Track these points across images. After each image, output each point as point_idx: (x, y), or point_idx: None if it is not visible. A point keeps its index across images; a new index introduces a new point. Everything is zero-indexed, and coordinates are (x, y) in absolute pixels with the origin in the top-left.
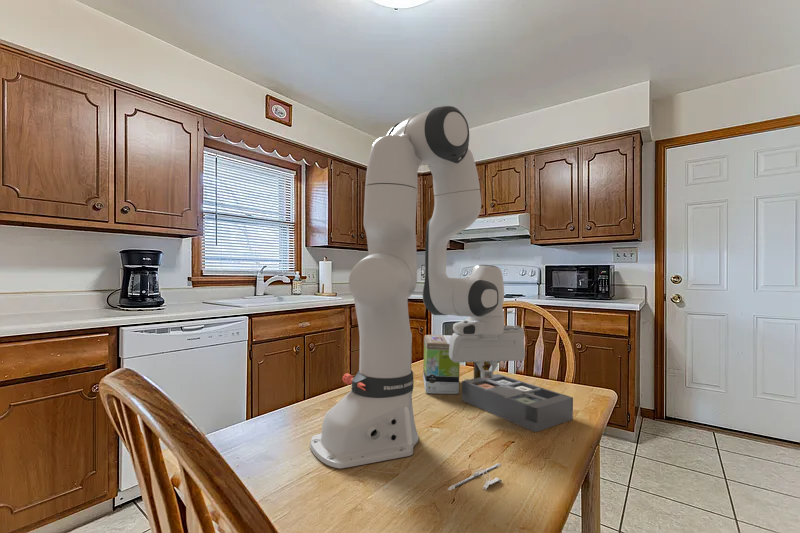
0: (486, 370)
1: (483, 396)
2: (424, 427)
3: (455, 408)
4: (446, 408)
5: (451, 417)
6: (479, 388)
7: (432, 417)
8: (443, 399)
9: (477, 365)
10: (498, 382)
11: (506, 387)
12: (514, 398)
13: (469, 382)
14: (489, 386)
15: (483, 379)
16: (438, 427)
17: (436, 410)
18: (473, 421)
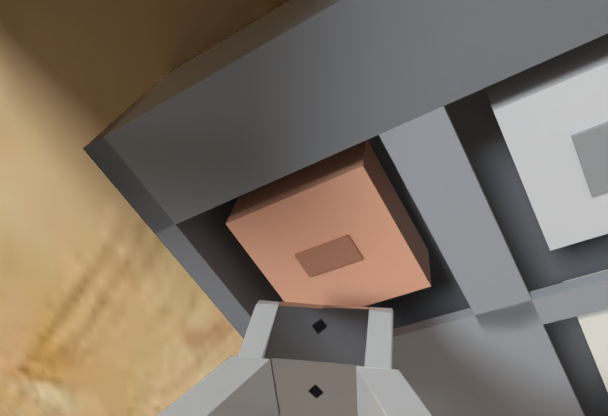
0: (318, 373)
1: None
2: (3, 374)
3: (120, 213)
4: (65, 207)
5: (103, 315)
6: (242, 327)
7: (12, 303)
8: (18, 33)
9: (167, 413)
10: (546, 142)
11: (495, 362)
12: (573, 261)
13: (163, 198)
14: (367, 255)
15: (358, 101)
16: (57, 383)
17: (12, 228)
18: (209, 363)
